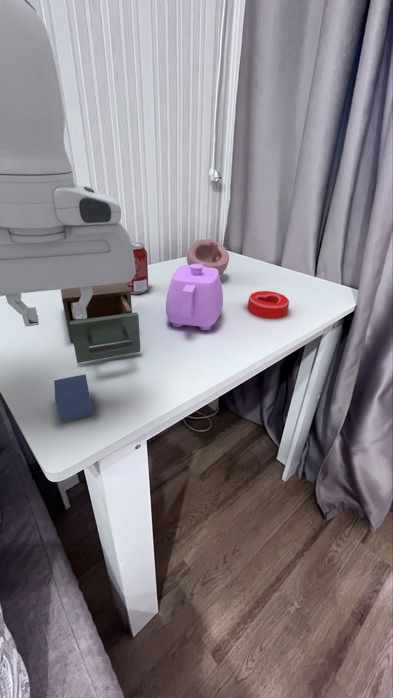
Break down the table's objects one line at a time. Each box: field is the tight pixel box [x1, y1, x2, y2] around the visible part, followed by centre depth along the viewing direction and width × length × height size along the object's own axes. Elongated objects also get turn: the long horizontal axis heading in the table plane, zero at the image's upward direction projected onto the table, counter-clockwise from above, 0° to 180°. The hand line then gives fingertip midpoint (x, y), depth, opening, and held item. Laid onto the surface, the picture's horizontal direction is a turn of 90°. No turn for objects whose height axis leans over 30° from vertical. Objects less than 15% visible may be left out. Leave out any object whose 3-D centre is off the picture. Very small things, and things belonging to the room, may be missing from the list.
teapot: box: [165, 263, 224, 331], centre depth 73 cm, size 20×12×13 cm, turn 169°
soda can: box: [126, 241, 149, 295], centre depth 85 cm, size 7×7×12 cm
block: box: [53, 374, 94, 424], centre depth 49 cm, size 4×4×4 cm
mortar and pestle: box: [186, 238, 230, 277], centre depth 95 cm, size 12×12×12 cm
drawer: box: [70, 295, 142, 364], centre depth 61 cm, size 18×11×8 cm, turn 22°
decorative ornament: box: [247, 290, 290, 320], centre depth 81 cm, size 10×10×3 cm
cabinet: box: [60, 283, 133, 344], centre depth 71 cm, size 15×13×10 cm
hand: (57, 320), depth 42 cm, fingers open, 4 cm apart
